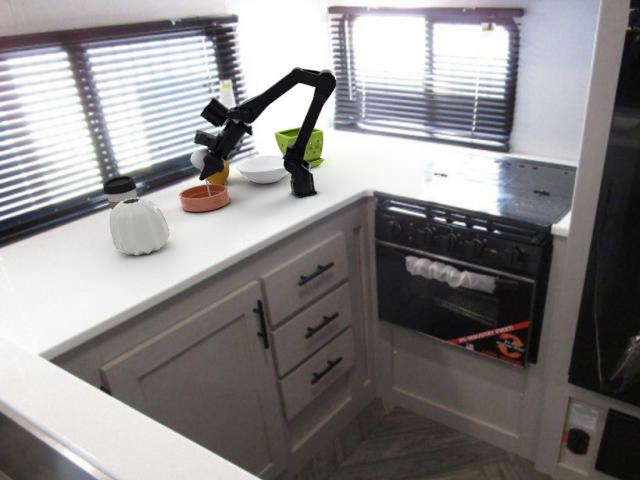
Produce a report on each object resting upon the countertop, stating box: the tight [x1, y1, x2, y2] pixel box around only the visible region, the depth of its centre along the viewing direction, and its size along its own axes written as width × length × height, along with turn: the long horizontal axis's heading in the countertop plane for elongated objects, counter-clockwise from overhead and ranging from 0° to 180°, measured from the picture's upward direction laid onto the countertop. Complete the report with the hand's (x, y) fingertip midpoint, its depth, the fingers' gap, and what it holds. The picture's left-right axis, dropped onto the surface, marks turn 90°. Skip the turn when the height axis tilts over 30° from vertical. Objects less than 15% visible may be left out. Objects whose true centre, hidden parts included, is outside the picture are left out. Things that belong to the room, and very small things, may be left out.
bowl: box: [235, 154, 289, 184], centre depth 196 cm, size 20×20×6 cm
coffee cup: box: [102, 175, 139, 211], centre depth 159 cm, size 8×8×15 cm
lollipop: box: [190, 149, 211, 197], centre depth 176 cm, size 6×6×15 cm
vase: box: [109, 196, 171, 256], centre depth 148 cm, size 14×14×13 cm
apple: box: [199, 159, 230, 185], centre depth 196 cm, size 10×10×12 cm
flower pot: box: [274, 126, 324, 168], centre depth 209 cm, size 14×14×13 cm
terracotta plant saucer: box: [178, 183, 231, 213], centre depth 178 cm, size 14×14×4 cm
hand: (200, 177), depth 177 cm, fingers closed on lollipop, 5 cm apart
